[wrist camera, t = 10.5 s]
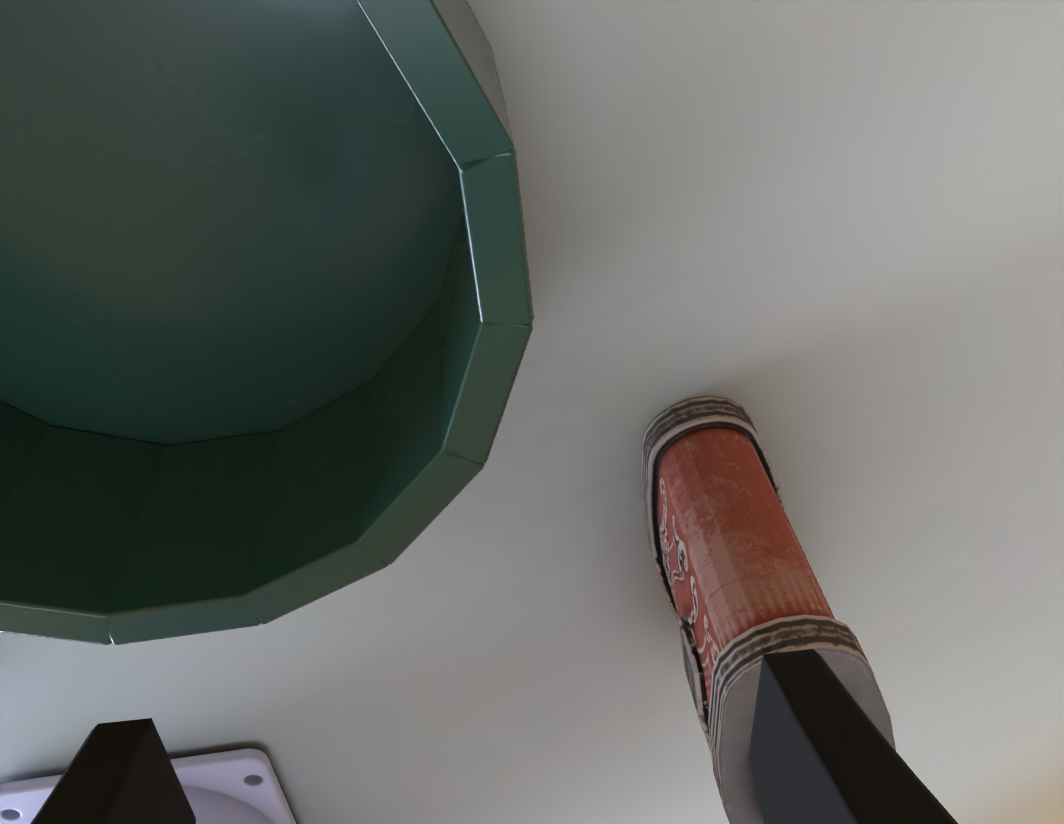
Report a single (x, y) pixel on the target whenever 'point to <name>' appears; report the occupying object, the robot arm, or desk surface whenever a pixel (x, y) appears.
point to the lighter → (736, 581)
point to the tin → (243, 301)
